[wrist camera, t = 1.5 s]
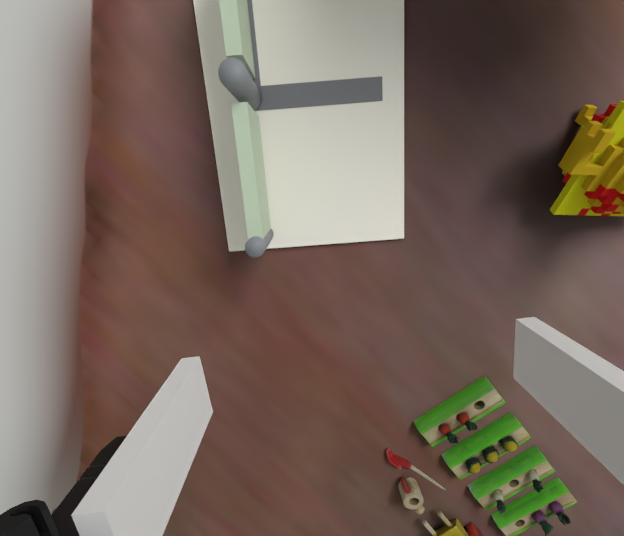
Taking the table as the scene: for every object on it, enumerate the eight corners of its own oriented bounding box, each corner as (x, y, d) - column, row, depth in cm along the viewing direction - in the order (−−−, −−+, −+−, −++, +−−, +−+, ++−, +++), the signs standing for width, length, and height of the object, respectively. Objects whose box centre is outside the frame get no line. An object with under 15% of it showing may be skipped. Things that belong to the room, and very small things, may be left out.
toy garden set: (569, 490, 44) (599, 526, 40) (448, 557, 47) (462, 597, 42) (482, 372, 39) (504, 397, 35) (352, 455, 42) (357, 488, 38)
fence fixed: (223, -49, 28) (190, -137, 20) (247, -51, 28) (223, -140, 20) (242, 112, 31) (220, 90, 23) (263, 111, 31) (248, 88, 23)
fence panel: (243, 117, 30) (225, 100, 24) (261, 116, 30) (247, 99, 24) (258, 242, 33) (246, 258, 27) (274, 241, 33) (265, 256, 27)
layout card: (190, -26, 28) (188, -29, 27) (402, -43, 28) (404, -47, 27) (229, 250, 34) (228, 251, 34) (403, 237, 34) (404, 238, 34)
